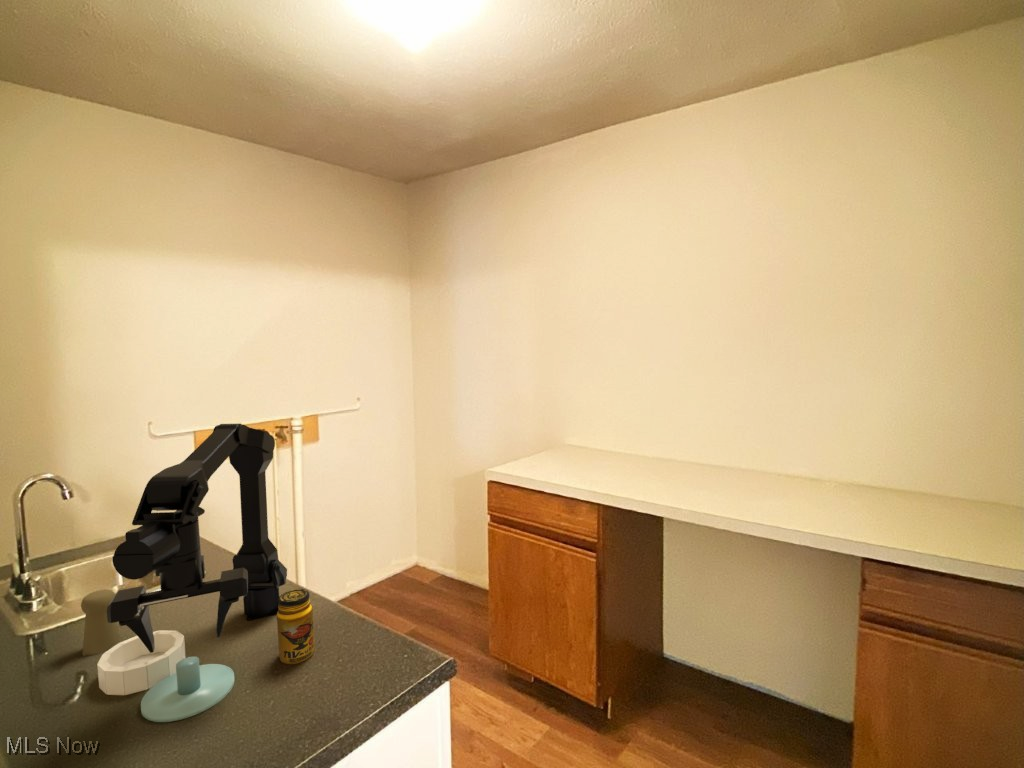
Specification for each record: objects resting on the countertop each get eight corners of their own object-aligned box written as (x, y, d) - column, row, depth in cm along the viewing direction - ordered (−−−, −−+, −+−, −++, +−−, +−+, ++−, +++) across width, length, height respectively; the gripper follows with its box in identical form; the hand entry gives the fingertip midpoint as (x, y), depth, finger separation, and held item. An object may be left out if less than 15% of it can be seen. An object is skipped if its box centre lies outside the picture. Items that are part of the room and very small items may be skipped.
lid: (236, 660, 93) (234, 632, 92) (232, 705, 81) (230, 673, 81) (150, 682, 87) (147, 652, 87) (132, 733, 75) (129, 699, 75)
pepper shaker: (100, 659, 95) (95, 601, 94) (73, 655, 96) (68, 599, 95) (130, 640, 101) (126, 586, 100) (105, 637, 102) (100, 584, 101)
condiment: (299, 672, 90) (295, 606, 89) (260, 663, 92) (256, 600, 92) (326, 648, 97) (323, 587, 96) (289, 641, 99) (285, 581, 98)
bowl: (188, 646, 98) (187, 624, 98) (179, 683, 87) (177, 658, 87) (111, 664, 93) (109, 641, 93) (91, 706, 82) (89, 679, 82)
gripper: (246, 525, 94) (251, 607, 95) (120, 544, 85) (128, 633, 87) (244, 546, 84) (250, 637, 85) (101, 570, 75) (110, 671, 77)
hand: (186, 643), depth 84 cm, fingers open, 9 cm apart
